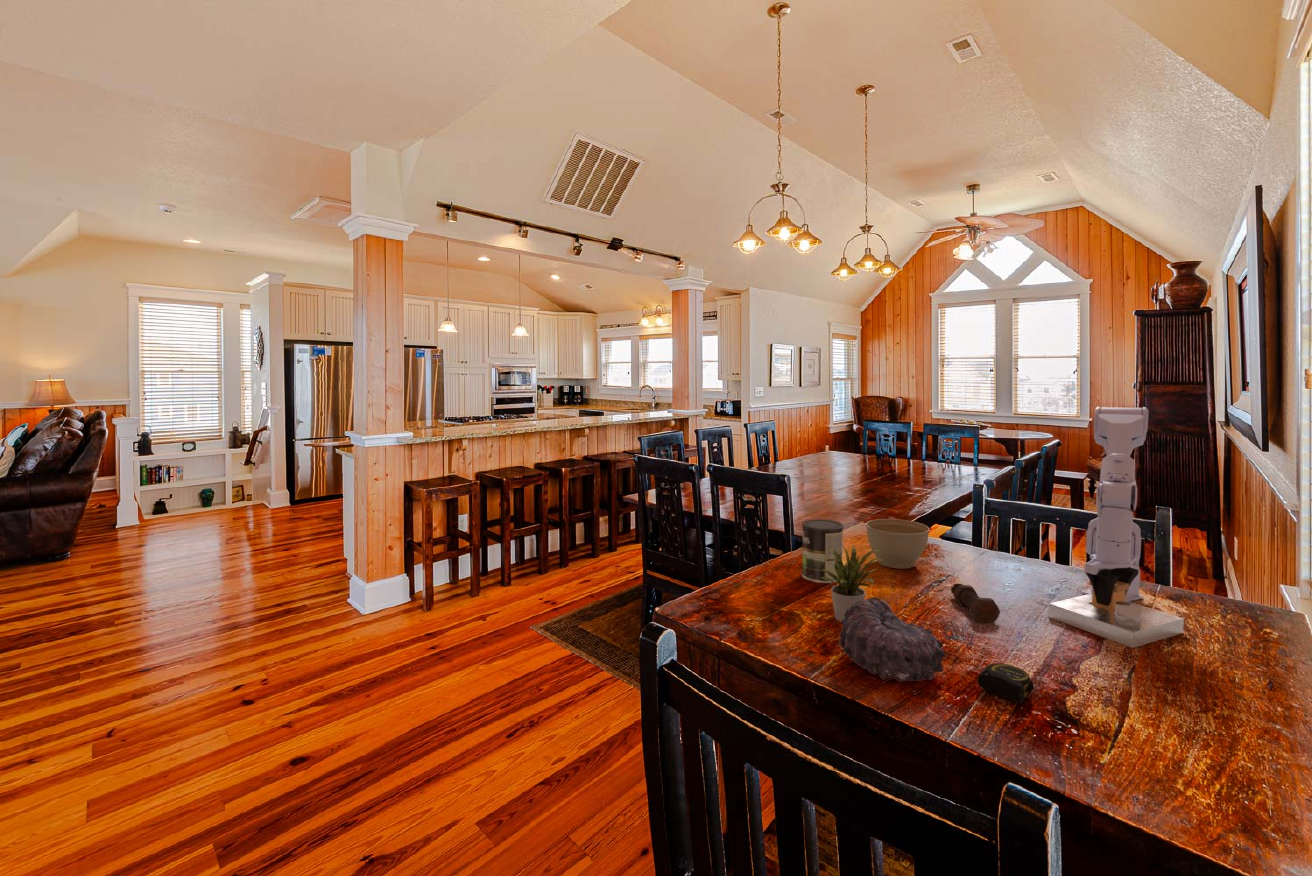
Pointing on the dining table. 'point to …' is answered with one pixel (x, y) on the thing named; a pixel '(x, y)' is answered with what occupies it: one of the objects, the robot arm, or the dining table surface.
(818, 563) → the coffee can
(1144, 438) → the robot arm
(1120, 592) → the tan chamfered block
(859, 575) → the house plant
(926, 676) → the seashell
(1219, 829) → the dining table surface
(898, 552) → the planter bowl
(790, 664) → the dining table surface
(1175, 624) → the grey slab with hole
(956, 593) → the bolt
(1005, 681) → the tape measure
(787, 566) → the dining table surface
